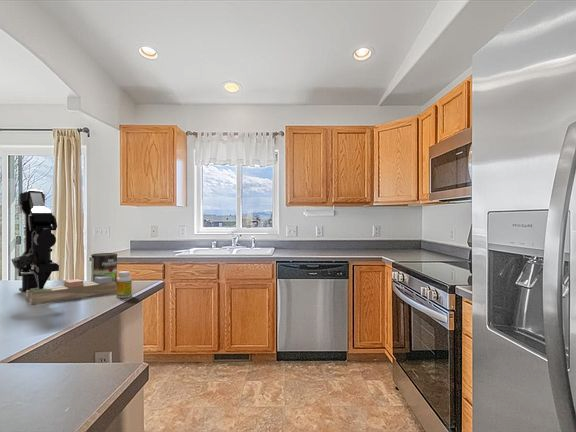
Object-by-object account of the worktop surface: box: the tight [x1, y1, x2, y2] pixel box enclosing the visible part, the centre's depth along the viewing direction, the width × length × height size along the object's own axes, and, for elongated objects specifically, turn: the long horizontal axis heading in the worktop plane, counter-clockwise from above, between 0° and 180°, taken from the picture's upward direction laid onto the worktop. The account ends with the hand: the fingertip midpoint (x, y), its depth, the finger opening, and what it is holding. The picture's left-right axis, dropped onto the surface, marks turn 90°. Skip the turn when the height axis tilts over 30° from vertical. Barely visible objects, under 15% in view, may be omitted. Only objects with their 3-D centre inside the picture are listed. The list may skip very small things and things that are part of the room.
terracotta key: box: [63, 278, 84, 288], centre depth 140 cm, size 5×5×4 cm
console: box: [25, 281, 117, 306], centre depth 140 cm, size 7×29×4 cm, turn 140°
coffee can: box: [90, 252, 118, 286], centre depth 159 cm, size 10×10×14 cm
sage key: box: [31, 286, 51, 293], centre depth 132 cm, size 5×5×4 cm
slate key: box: [94, 276, 112, 284], centre depth 149 cm, size 5×5×4 cm
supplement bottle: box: [115, 270, 133, 299], centre depth 141 cm, size 5×5×10 cm
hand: (40, 288), depth 132 cm, fingers closed, pressing on sage key
